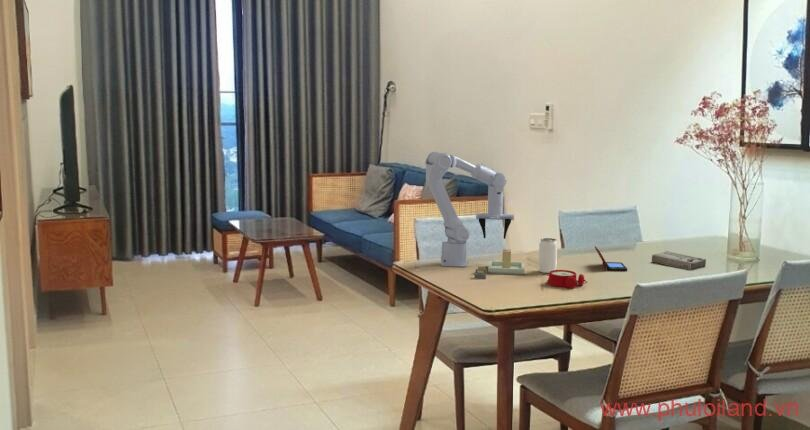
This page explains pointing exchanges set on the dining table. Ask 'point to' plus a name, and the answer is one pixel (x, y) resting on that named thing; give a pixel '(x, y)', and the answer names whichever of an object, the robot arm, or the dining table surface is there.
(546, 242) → the can
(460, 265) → the robot arm
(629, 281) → the dining table surface
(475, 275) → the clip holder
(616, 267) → the handheld game console
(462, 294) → the dining table surface
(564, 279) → the alarm clock
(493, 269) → the tray
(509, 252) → the carton
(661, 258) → the box
